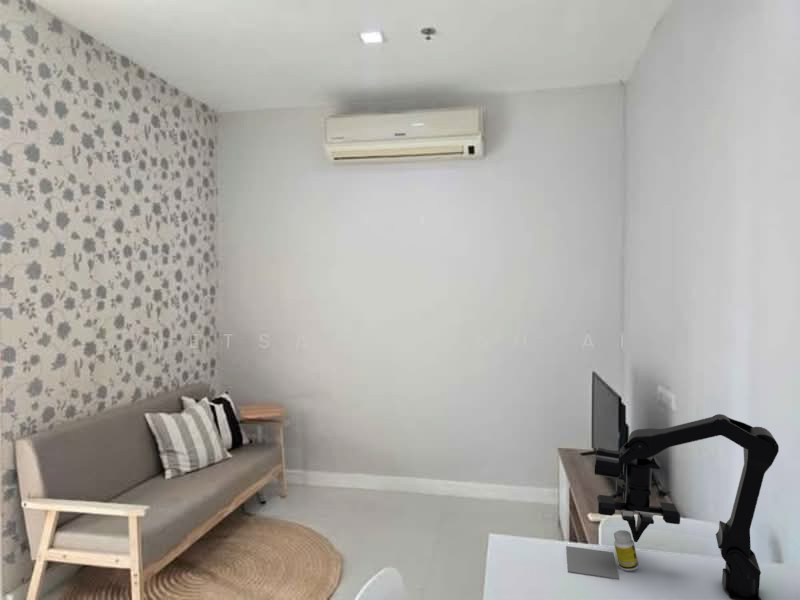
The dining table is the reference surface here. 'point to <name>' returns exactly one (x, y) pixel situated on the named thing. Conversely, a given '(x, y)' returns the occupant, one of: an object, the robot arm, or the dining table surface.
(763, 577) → the dining table surface
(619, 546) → the supplement bottle
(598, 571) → the mat
